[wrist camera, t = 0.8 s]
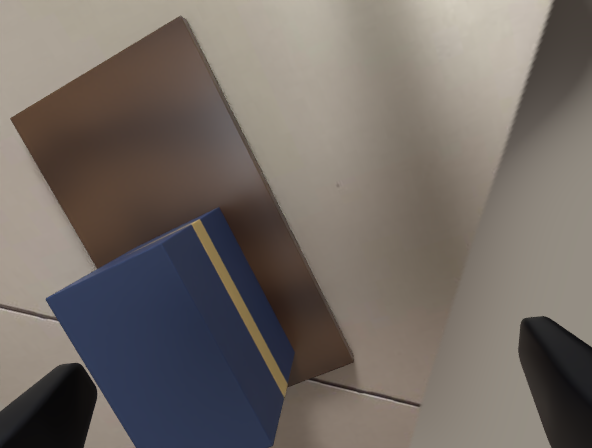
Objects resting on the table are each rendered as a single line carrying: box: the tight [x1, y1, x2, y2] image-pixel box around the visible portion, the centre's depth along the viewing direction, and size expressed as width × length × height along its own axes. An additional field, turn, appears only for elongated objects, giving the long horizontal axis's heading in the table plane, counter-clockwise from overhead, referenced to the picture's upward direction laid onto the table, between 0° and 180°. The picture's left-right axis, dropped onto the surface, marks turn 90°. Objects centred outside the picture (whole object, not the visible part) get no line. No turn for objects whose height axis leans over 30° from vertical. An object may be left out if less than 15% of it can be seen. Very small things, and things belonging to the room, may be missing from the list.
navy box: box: [46, 207, 295, 448], centre depth 22 cm, size 10×6×8 cm, turn 26°
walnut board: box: [10, 16, 354, 387], centre depth 26 cm, size 22×12×1 cm, turn 26°
